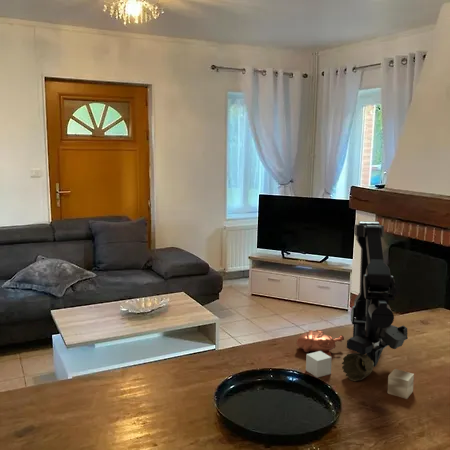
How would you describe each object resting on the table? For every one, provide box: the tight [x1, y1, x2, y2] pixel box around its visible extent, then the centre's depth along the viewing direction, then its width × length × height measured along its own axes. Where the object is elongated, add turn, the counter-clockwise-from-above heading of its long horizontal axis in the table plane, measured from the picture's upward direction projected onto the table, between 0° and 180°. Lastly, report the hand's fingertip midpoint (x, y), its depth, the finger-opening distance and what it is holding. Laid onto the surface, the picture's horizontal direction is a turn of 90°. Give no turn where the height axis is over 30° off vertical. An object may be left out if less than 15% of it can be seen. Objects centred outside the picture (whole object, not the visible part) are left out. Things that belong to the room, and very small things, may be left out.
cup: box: [341, 352, 374, 382], centre depth 139 cm, size 8×7×8 cm
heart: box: [296, 329, 345, 357], centre depth 157 cm, size 6×12×15 cm
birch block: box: [386, 368, 415, 400], centre depth 130 cm, size 5×5×5 cm
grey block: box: [305, 351, 333, 378], centre depth 141 cm, size 5×5×5 cm
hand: (373, 366), depth 143 cm, fingers closed
